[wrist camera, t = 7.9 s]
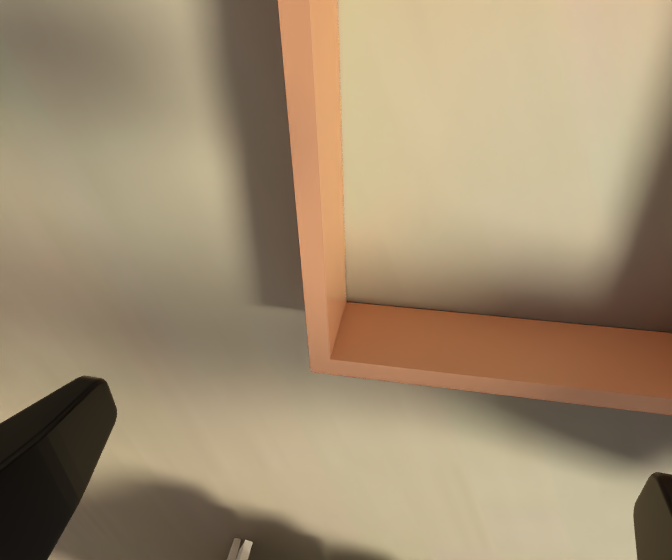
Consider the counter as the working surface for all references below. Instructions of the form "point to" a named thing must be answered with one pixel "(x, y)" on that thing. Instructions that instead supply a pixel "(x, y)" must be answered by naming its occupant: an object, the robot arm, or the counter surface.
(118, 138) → the counter surface
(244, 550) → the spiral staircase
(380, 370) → the terracotta frame
